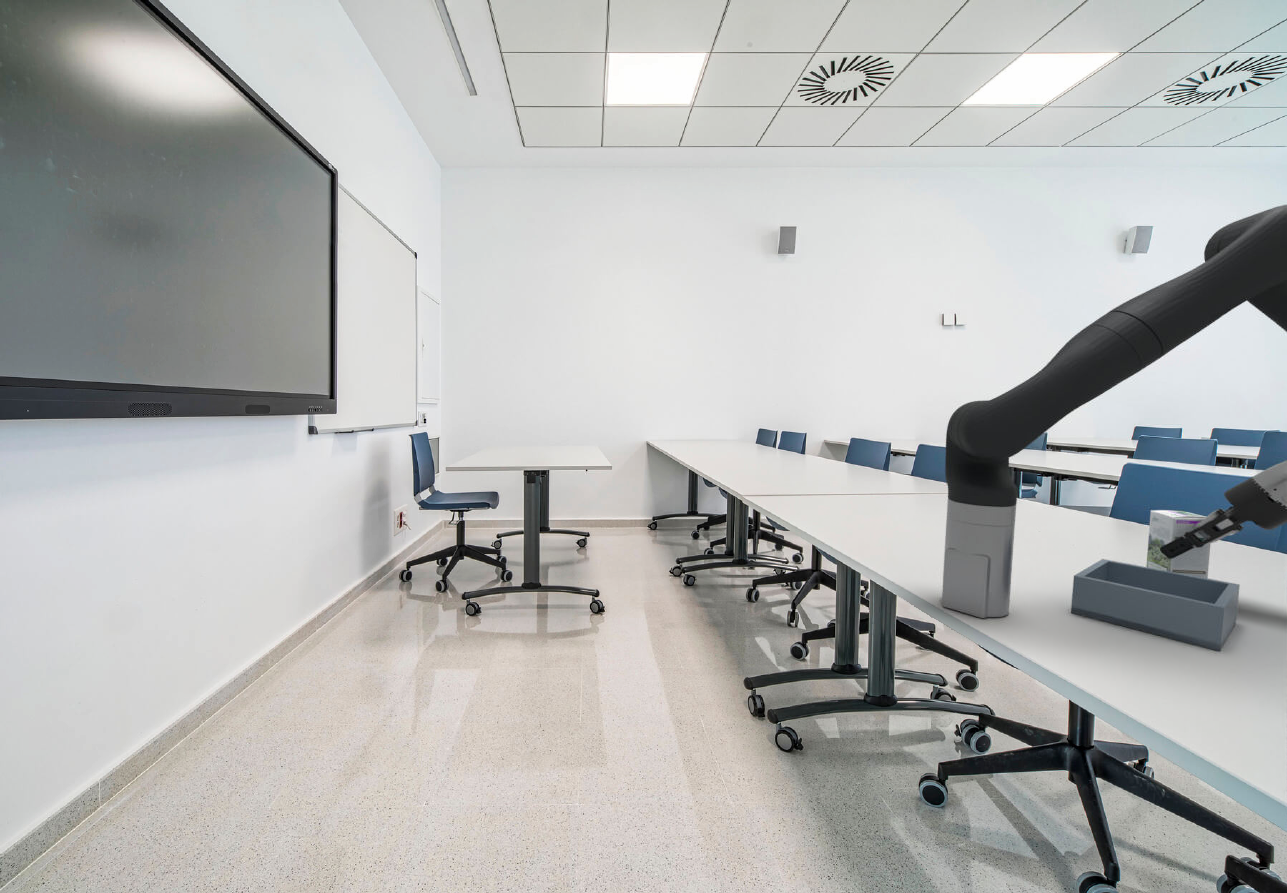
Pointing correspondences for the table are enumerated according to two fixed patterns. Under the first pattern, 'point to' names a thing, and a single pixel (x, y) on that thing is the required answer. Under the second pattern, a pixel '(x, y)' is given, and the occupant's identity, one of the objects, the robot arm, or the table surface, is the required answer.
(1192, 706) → the table surface
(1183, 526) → the syrup box
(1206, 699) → the table surface
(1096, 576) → the tote
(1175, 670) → the table surface
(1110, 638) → the table surface
